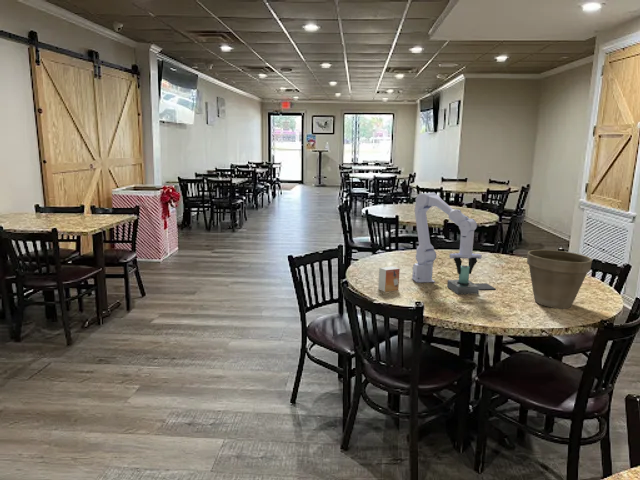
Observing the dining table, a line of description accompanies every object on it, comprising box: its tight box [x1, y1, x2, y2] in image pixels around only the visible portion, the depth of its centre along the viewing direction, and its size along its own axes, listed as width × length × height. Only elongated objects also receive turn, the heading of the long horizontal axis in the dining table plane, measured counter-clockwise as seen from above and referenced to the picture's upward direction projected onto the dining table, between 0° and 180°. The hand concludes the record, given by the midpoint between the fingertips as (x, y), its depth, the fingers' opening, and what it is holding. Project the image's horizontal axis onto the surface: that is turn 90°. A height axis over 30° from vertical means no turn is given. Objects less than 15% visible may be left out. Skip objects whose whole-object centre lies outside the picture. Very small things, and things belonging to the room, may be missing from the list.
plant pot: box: [526, 249, 593, 309], centre depth 208 cm, size 25×25×22 cm
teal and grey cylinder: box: [458, 264, 470, 284], centre depth 225 cm, size 4×4×8 cm
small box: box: [377, 265, 401, 293], centre depth 224 cm, size 8×6×10 cm
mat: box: [475, 282, 496, 291], centre depth 232 cm, size 9×9×1 cm
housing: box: [446, 279, 480, 295], centre depth 226 cm, size 10×12×4 cm
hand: (464, 273), depth 225 cm, fingers closed on teal and grey cylinder, 4 cm apart
